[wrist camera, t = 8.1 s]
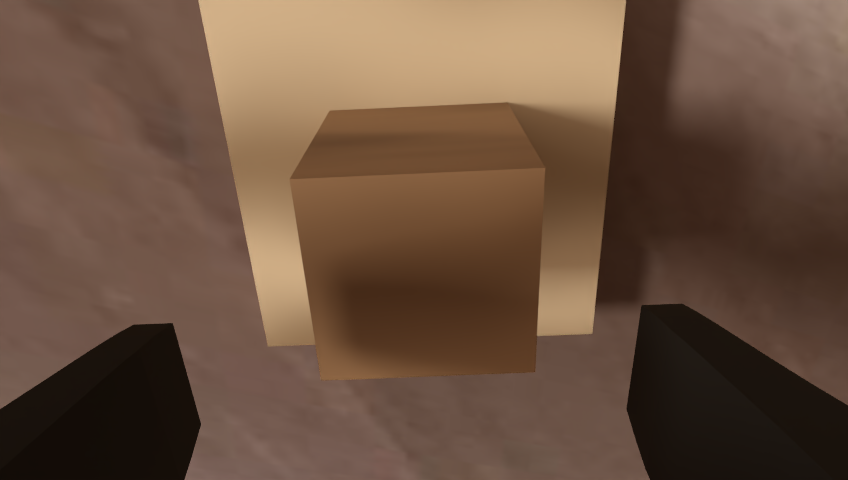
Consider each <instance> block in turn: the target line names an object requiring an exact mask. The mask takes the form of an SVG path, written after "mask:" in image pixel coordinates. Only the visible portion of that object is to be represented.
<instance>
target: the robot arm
mask: <svg viewBox="0 0 848 480" xmlns="http://www.w3.org/2000/svg"><path fill="white" fill-rule="evenodd" d="M627 412H628V415H629V419H630V422H631V425H632V428H633V432H634V435H635V438H636V442H637V445H638V448H639V451H640V454H641V457H642V460H643V463H644V466H645V469H646V471H647V473H648V476H649V478H650V480H848V405H846V404H844V403H843V402H841V401H839V400H838V399H836V398H834V397H833V396H831V395H829V394H828V393H826V392H824V391H823V390H821V389H819V388H818V387H816V386H814V385H813V384H811V383H809V382H808V381H806V380H805V379H803V378H801V377H800V376H798V375H796V374H795V373H793V372H792V371H790V370H788V369H787V368H785V367H784V366H782V365H780V364H779V363H777V362H776V361H774V360H773V359H771V358H769V357H768V356H766V355H765V354H763V353H762V352H760V351H758V350H757V349H755V348H754V347H752V346H751V345H749V344H747V343H746V342H744V341H743V340H741V339H740V338H738V337H736V336H735V335H733V334H732V333H730V332H729V331H727V330H725V329H724V328H722V327H721V326H719V325H718V324H716V323H714V322H713V321H711V320H710V319H708V318H706V317H705V316H703V315H701V314H700V313H698V312H696V311H694V310H693V309H691V308H689V307H687V306H685V305H684V304H662V305H642V307H641V313H640V320H639V327H638V334H637V341H636V348H635V355H634V362H633V368H632V375H631V382H630V389H629V396H628V403H627ZM200 426H201V422H200V419H199V415H198V412H197V408H196V405H195V401H194V397H193V394H192V390H191V387H190V383H189V380H188V376H187V372H186V369H185V365H184V362H183V358H182V355H181V351H180V348H179V344H178V340H177V337H176V333H175V330H174V326H173V323H167V324H141V325H132V326H131V327H129V328H127V329H125V330H123V331H121V332H119V333H118V334H116V335H114V336H113V337H111V338H109V339H108V340H106V341H105V342H103V343H101V344H100V345H98V346H97V347H95V348H93V349H92V350H90V351H89V352H87V353H86V354H84V355H83V356H81V357H79V358H78V359H76V360H75V361H73V362H72V363H70V364H69V365H67V366H66V367H64V368H63V369H61V370H60V371H58V372H57V373H55V374H54V375H52V376H50V377H49V378H47V379H46V380H44V381H43V382H41V383H40V384H38V385H37V386H35V387H34V388H32V389H31V390H29V391H27V392H26V393H24V394H23V395H21V396H20V397H18V398H17V399H15V400H14V401H12V402H11V403H9V404H8V405H6V406H4V407H3V408H1V409H0V480H184V479H185V476H186V473H187V470H188V467H189V463H190V460H191V457H192V454H193V450H194V447H195V443H196V440H197V436H198V433H199V429H200Z"/></svg>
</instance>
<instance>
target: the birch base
mask: <svg viewBox="0 0 848 480" xmlns="http://www.w3.org/2000/svg"><path fill="white" fill-rule="evenodd" d="M198 1H199V6H200V11H201V16H202V21H203V25H204V30H205V35H206V40H207V45H208V50H209V55H210V60H211V65H212V70H213V75H214V80H215V85H216V90H217V95H218V100H219V105H220V110H221V115H222V120H223V125H224V130H225V135H226V140H227V145H228V150H229V155H230V160H231V165H232V170H233V175H234V180H235V185H236V190H237V195H238V200H239V205H240V210H241V214H242V219H243V224H244V229H245V234H246V239H247V244H248V249H249V254H250V259H251V264H252V269H253V274H254V279H255V284H256V289H257V294H258V299H259V304H260V309H261V314H262V319H263V324H264V329H265V334H266V339H267V344H268V346H291V345H315V339H314V332H313V326H312V319H311V313H310V307H309V300H308V294H307V288H306V281H305V275H304V269H303V262H302V256H301V250H300V243H299V237H298V230H297V224H296V218H295V211H294V205H293V199H292V192H291V186H290V180H289V179H290V177H291V176H292V174H293V172H294V171H295V169H296V167H297V165H298V164H299V162H300V160H301V159H302V157H303V155H304V154H305V152H306V150H307V148H308V147H309V145H310V143H311V142H312V140H313V138H314V136H315V135H316V133H317V131H318V130H319V128H320V126H321V125H322V123H323V121H324V119H325V118H326V116H327V114H328V113H329V111H331V110H353V109H374V108H396V107H417V106H439V105H461V104H482V103H504V102H507V103H508V104H509V106H510V108H511V110H512V111H513V113H514V115H515V117H516V118H517V120H518V122H519V123H520V125H521V127H522V129H523V130H524V132H525V134H526V135H527V137H528V139H529V141H530V142H531V144H532V146H533V148H534V149H535V151H536V153H537V154H538V156H539V158H540V160H541V161H542V163H543V165H544V166H545V184H544V204H543V224H542V244H541V264H540V284H539V305H538V325H537V336H546V335H572V334H592V331H593V321H594V311H595V302H596V292H597V282H598V272H599V262H600V252H601V243H602V233H603V223H604V213H605V203H606V193H607V184H608V174H609V164H610V154H611V144H612V134H613V125H614V115H615V105H616V95H617V85H618V75H619V66H620V56H621V46H622V36H623V26H624V16H625V7H626V0H198Z"/></svg>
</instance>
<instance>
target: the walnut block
mask: <svg viewBox="0 0 848 480" xmlns="http://www.w3.org/2000/svg"><path fill="white" fill-rule="evenodd" d="M289 180H290V186H291V192H292V199H293V205H294V211H295V218H296V224H297V230H298V237H299V243H300V250H301V256H302V262H303V269H304V275H305V281H306V288H307V294H308V300H309V307H310V313H311V319H312V326H313V332H314V339H315V345H316V351H317V358H318V364H319V370H320V377H321V380H347V379H372V378H398V377H424V376H450V375H476V374H501V373H527V372H535V365H536V345H537V325H538V305H539V284H540V264H541V244H542V224H543V204H544V184H545V166H544V165H543V163H542V161H541V160H540V158H539V156H538V154H537V153H536V151H535V149H534V148H533V146H532V144H531V142H530V141H529V139H528V137H527V135H526V134H525V132H524V130H523V129H522V127H521V125H520V123H519V122H518V120H517V118H516V117H515V115H514V113H513V111H512V110H511V108H510V106H509V104H508V103H507V102H504V103H482V104H461V105H439V106H417V107H396V108H374V109H353V110H331V111H329V113H328V114H327V116H326V118H325V119H324V121H323V123H322V125H321V126H320V128H319V130H318V131H317V133H316V135H315V136H314V138H313V140H312V142H311V143H310V145H309V147H308V148H307V150H306V152H305V154H304V155H303V157H302V159H301V160H300V162H299V164H298V165H297V167H296V169H295V171H294V172H293V174H292V176H291V177H290V179H289Z"/></svg>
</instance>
